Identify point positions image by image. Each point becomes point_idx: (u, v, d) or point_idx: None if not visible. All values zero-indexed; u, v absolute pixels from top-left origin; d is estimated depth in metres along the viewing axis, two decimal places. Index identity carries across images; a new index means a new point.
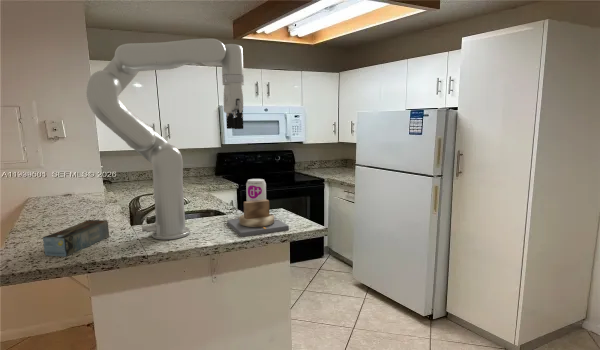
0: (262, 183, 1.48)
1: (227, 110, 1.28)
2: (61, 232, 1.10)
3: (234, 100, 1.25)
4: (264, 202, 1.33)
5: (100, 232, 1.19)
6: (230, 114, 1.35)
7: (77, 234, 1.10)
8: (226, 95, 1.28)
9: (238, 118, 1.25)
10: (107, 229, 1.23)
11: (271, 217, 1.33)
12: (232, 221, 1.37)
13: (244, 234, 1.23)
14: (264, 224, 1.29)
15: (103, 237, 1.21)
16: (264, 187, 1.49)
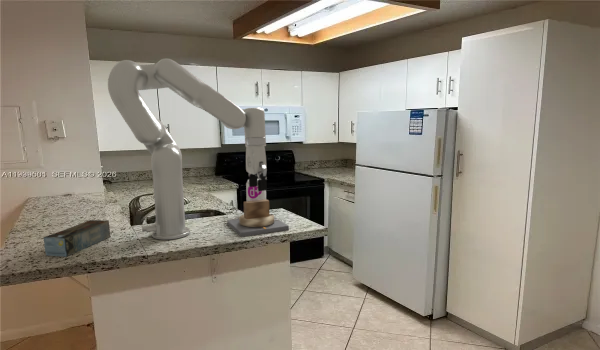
0: None
1: (250, 172, 1.30)
2: (62, 233, 1.10)
3: (258, 163, 1.26)
4: (264, 202, 1.33)
5: (101, 232, 1.19)
6: None
7: (78, 234, 1.10)
8: (249, 157, 1.29)
9: (262, 181, 1.27)
10: (108, 229, 1.22)
11: (271, 217, 1.33)
12: (232, 221, 1.37)
13: (244, 234, 1.23)
14: (264, 224, 1.29)
15: (104, 237, 1.20)
16: None
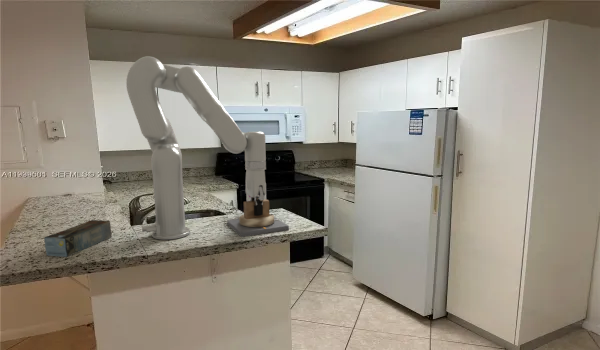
0: None
1: (250, 194, 1.31)
2: (63, 233, 1.10)
3: (257, 187, 1.27)
4: (264, 202, 1.33)
5: (102, 232, 1.19)
6: (254, 199, 1.35)
7: (78, 234, 1.09)
8: (249, 180, 1.30)
9: (258, 206, 1.31)
10: (109, 229, 1.22)
11: (271, 217, 1.33)
12: (232, 221, 1.37)
13: (244, 234, 1.23)
14: (264, 224, 1.29)
15: (105, 237, 1.20)
16: None
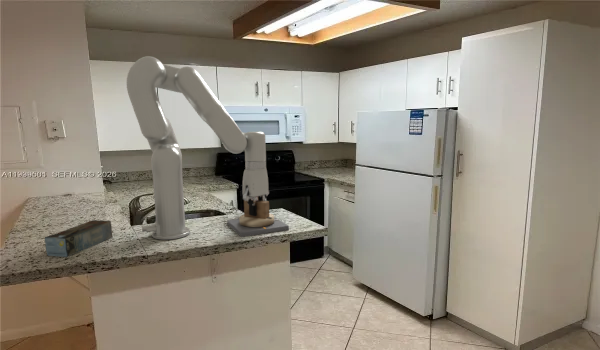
0: None
1: None
2: (64, 233, 1.10)
3: (244, 186, 1.29)
4: (260, 203, 1.31)
5: (102, 233, 1.18)
6: (261, 199, 1.35)
7: (79, 234, 1.09)
8: None
9: (250, 206, 1.31)
10: (110, 229, 1.22)
11: (263, 220, 1.29)
12: (232, 221, 1.37)
13: (244, 234, 1.23)
14: (249, 225, 1.28)
15: (106, 238, 1.20)
16: None
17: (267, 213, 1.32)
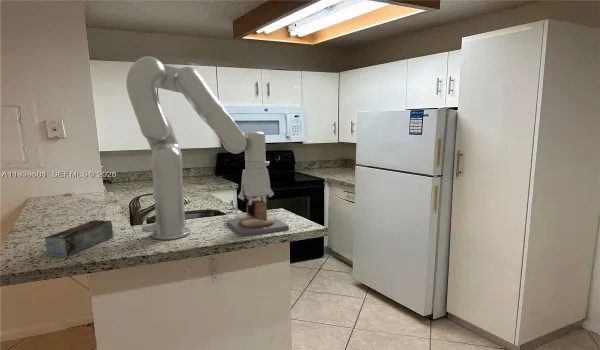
0: None
1: None
2: (64, 233, 1.10)
3: (241, 185, 1.31)
4: (256, 204, 1.30)
5: (103, 233, 1.18)
6: None
7: (79, 235, 1.09)
8: None
9: None
10: (111, 229, 1.22)
11: (255, 220, 1.29)
12: (232, 221, 1.37)
13: (244, 234, 1.23)
14: (242, 223, 1.30)
15: (106, 238, 1.20)
16: None
17: (263, 214, 1.31)
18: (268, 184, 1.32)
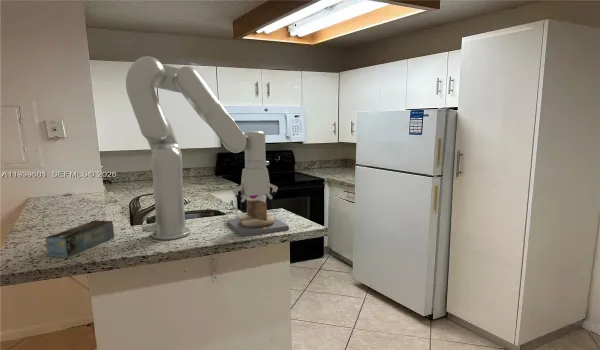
0: None
1: None
2: (65, 233, 1.10)
3: (241, 184, 1.31)
4: (256, 204, 1.30)
5: (104, 233, 1.18)
6: None
7: (79, 235, 1.09)
8: None
9: (240, 202, 1.31)
10: (112, 230, 1.22)
11: (255, 220, 1.29)
12: (232, 221, 1.37)
13: (244, 234, 1.23)
14: (242, 223, 1.30)
15: (107, 238, 1.20)
16: None
17: (263, 214, 1.31)
18: (268, 184, 1.32)
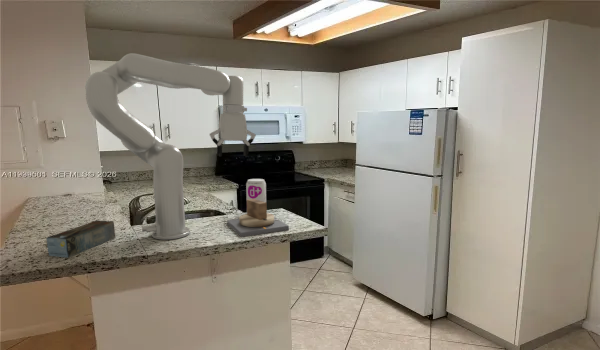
0: (262, 183, 1.48)
1: None
2: (66, 233, 1.10)
3: None
4: (256, 204, 1.30)
5: (105, 233, 1.18)
6: None
7: (80, 235, 1.09)
8: None
9: (217, 146, 1.33)
10: (113, 230, 1.21)
11: (255, 220, 1.29)
12: (232, 221, 1.37)
13: (244, 234, 1.23)
14: (242, 223, 1.30)
15: (108, 238, 1.19)
16: (264, 187, 1.49)
17: (263, 214, 1.31)
18: (245, 129, 1.34)
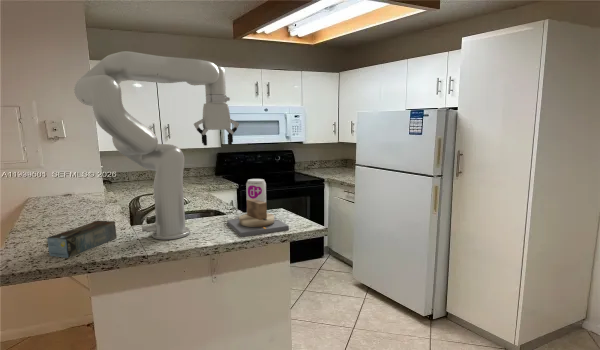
0: (262, 183, 1.48)
1: None
2: (66, 233, 1.10)
3: (202, 119, 1.37)
4: (256, 204, 1.30)
5: (106, 233, 1.18)
6: None
7: (81, 235, 1.09)
8: None
9: None
10: (114, 230, 1.21)
11: (255, 220, 1.29)
12: (232, 221, 1.37)
13: (244, 234, 1.23)
14: (242, 223, 1.30)
15: (109, 238, 1.19)
16: (264, 187, 1.49)
17: (263, 214, 1.31)
18: (228, 118, 1.38)
